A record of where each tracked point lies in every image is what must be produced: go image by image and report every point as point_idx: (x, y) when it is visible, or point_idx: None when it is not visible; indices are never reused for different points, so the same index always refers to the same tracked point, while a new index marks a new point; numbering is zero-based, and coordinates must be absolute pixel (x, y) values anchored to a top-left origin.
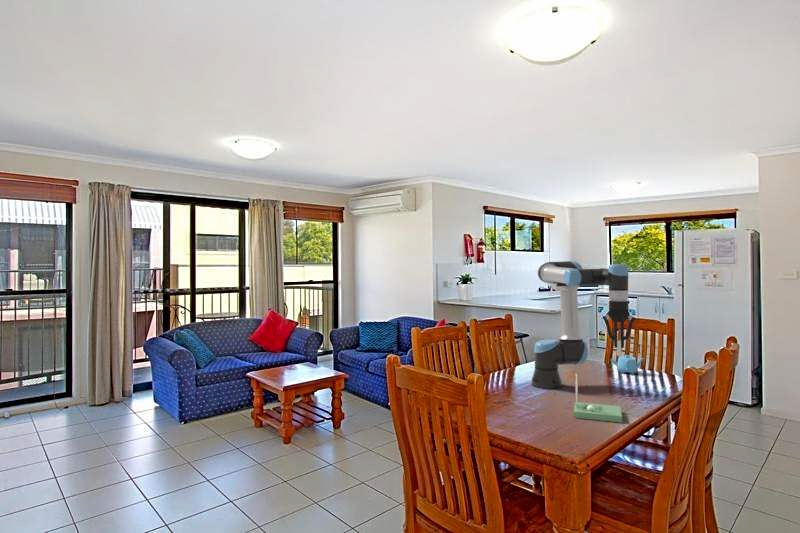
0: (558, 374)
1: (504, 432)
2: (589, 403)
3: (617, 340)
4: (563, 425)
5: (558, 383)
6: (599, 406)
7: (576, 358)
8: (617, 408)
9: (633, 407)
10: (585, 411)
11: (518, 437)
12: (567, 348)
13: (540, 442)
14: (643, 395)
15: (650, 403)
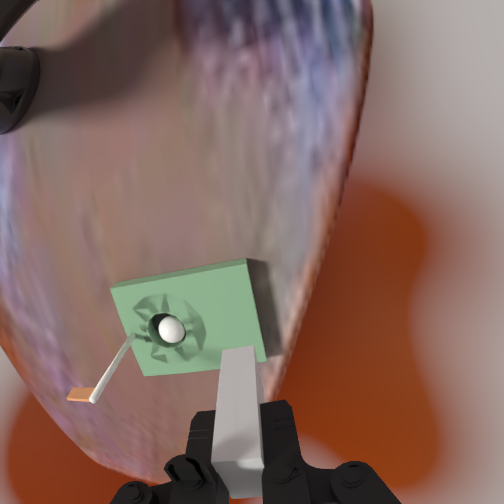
0: (9, 72)
1: (102, 459)
2: (150, 282)
3: (233, 494)
4: (153, 416)
5: (25, 93)
6: (186, 300)
7: (22, 5)
8: (242, 294)
9: (279, 177)
10: (168, 365)
11: (128, 469)
12: None
13: (163, 476)
14: (289, 17)
15: (324, 100)
